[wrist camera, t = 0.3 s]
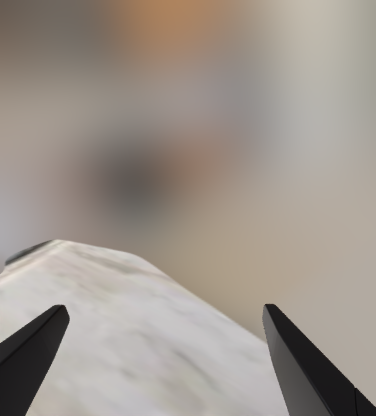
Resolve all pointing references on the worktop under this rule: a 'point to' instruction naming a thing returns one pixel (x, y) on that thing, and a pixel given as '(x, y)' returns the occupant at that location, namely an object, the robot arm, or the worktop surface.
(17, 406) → the robot arm
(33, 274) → the worktop surface
